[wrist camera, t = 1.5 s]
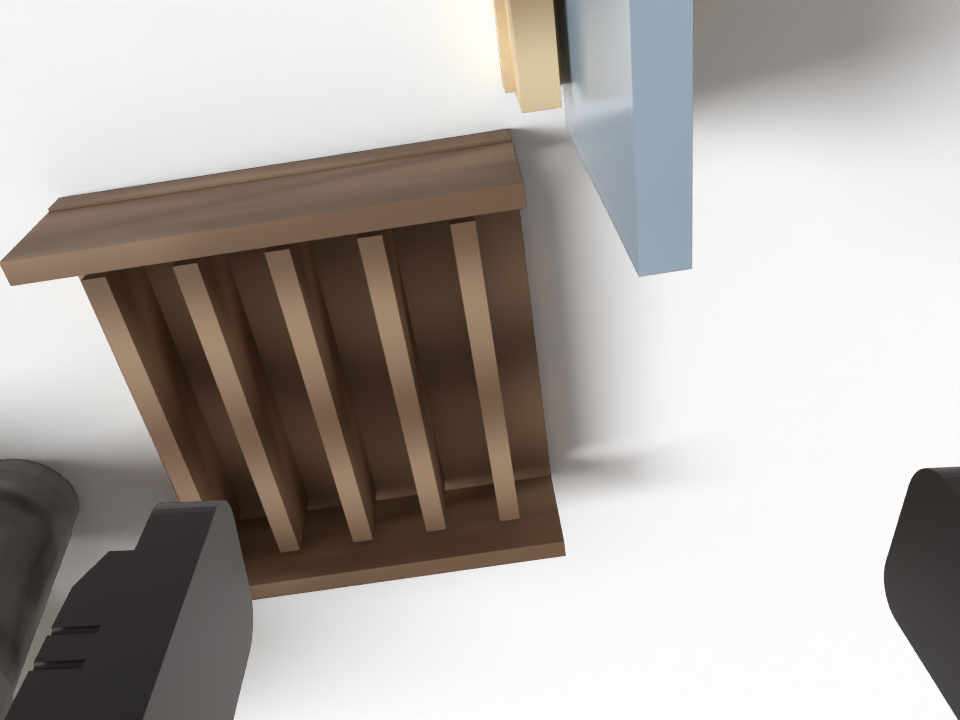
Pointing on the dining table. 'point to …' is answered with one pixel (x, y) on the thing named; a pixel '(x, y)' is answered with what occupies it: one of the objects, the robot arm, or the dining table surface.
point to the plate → (634, 119)
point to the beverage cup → (28, 557)
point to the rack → (330, 354)
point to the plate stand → (530, 52)
